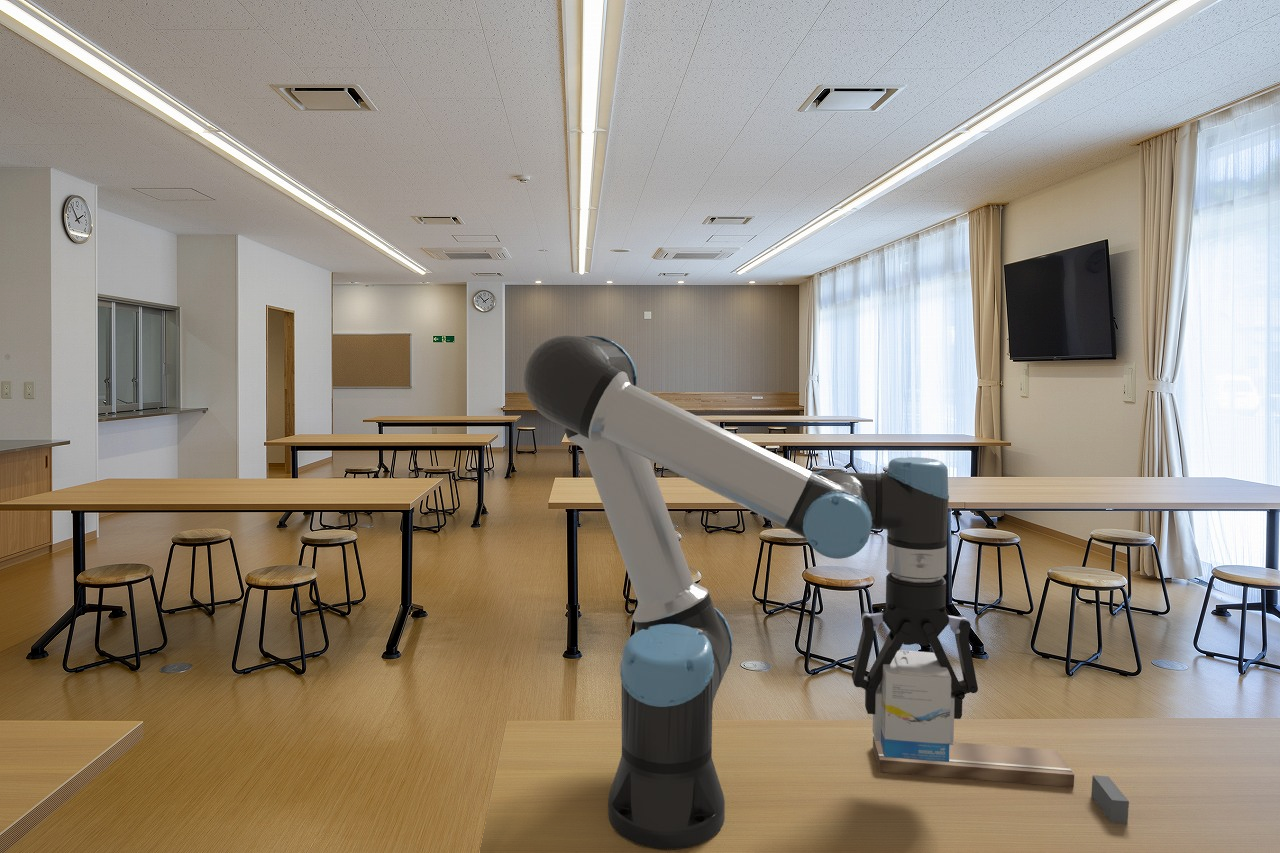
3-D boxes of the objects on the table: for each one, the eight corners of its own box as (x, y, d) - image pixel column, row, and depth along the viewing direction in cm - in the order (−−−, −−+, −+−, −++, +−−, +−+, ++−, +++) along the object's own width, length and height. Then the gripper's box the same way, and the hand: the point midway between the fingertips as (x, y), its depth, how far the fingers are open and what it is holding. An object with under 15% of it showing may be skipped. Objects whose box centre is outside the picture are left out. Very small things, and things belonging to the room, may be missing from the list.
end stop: (1110, 822, 101) (1112, 800, 101) (1091, 796, 107) (1092, 775, 107) (1127, 823, 101) (1128, 801, 101) (1107, 797, 107) (1108, 776, 107)
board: (879, 771, 113) (879, 759, 113) (872, 747, 120) (873, 735, 120) (1073, 787, 109) (1074, 774, 109) (1055, 761, 116) (1055, 748, 116)
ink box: (950, 763, 102) (953, 676, 101) (882, 757, 104) (884, 671, 103) (939, 732, 110) (941, 651, 109) (876, 727, 112) (877, 647, 111)
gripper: (836, 580, 103) (833, 746, 105) (1009, 585, 100) (1003, 757, 102) (831, 564, 110) (829, 720, 112) (992, 569, 107) (987, 729, 109)
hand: (912, 737), depth 107 cm, fingers closed on ink box, 9 cm apart
